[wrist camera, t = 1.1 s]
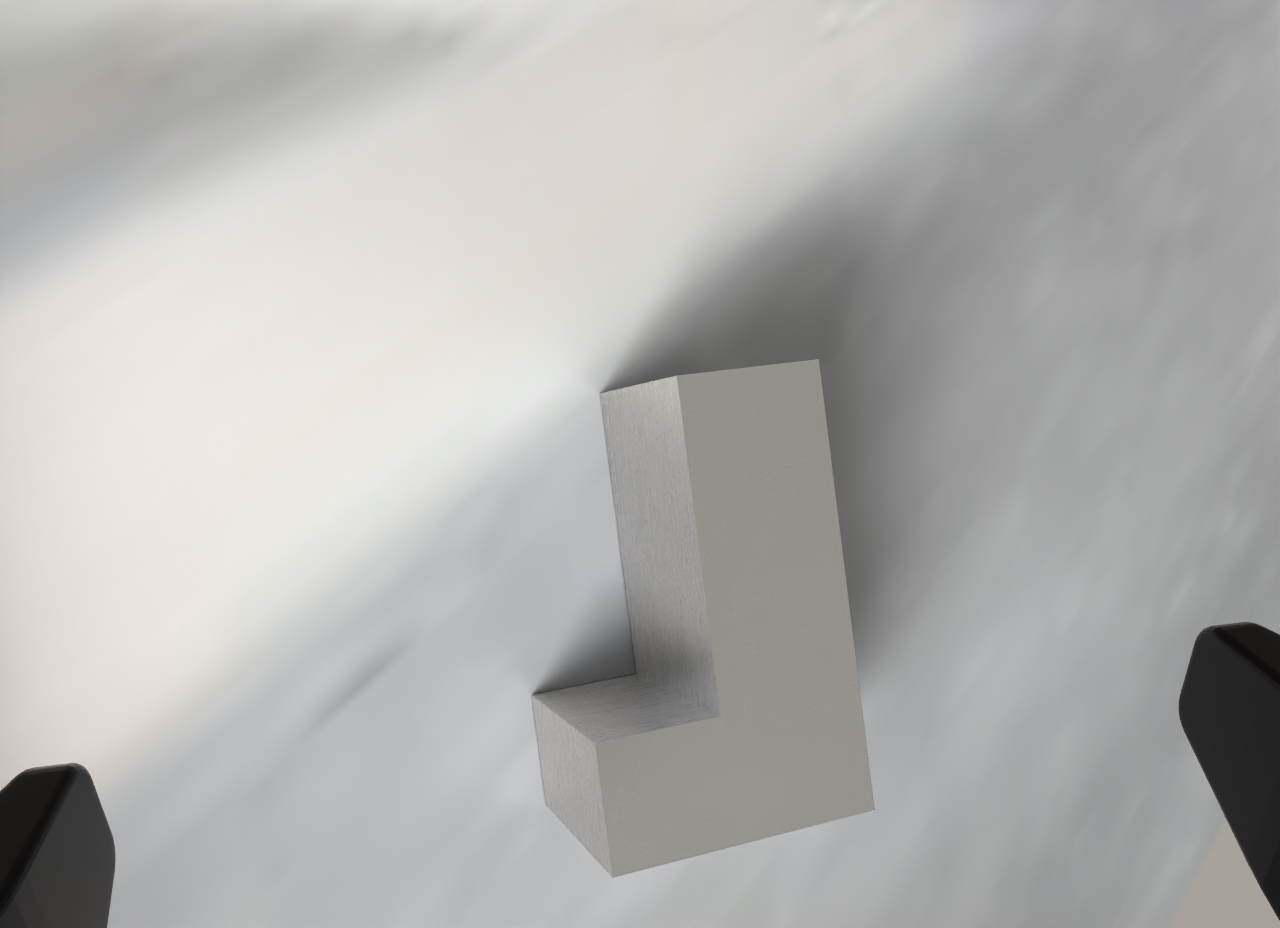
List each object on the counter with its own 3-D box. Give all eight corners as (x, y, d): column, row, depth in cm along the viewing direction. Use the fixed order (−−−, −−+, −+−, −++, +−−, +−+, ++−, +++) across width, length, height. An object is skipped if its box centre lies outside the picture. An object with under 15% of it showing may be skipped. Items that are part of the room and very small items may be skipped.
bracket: (768, 753, 28) (874, 810, 23) (545, 805, 26) (612, 877, 22) (720, 378, 28) (818, 358, 23) (492, 406, 26) (548, 390, 21)
